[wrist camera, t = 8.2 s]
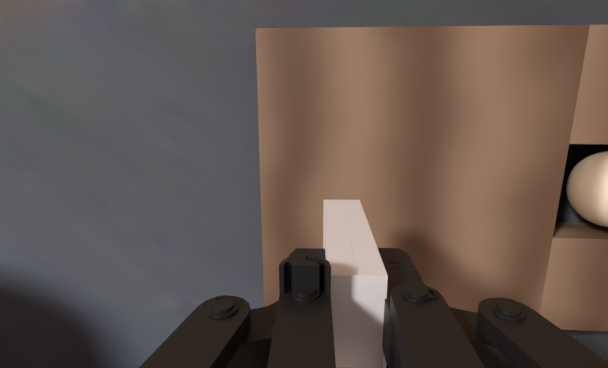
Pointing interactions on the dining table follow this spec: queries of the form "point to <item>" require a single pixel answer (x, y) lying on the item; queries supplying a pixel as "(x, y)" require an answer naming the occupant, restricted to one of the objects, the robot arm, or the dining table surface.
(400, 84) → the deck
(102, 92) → the dining table surface
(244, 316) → the robot arm
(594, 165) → the ball
